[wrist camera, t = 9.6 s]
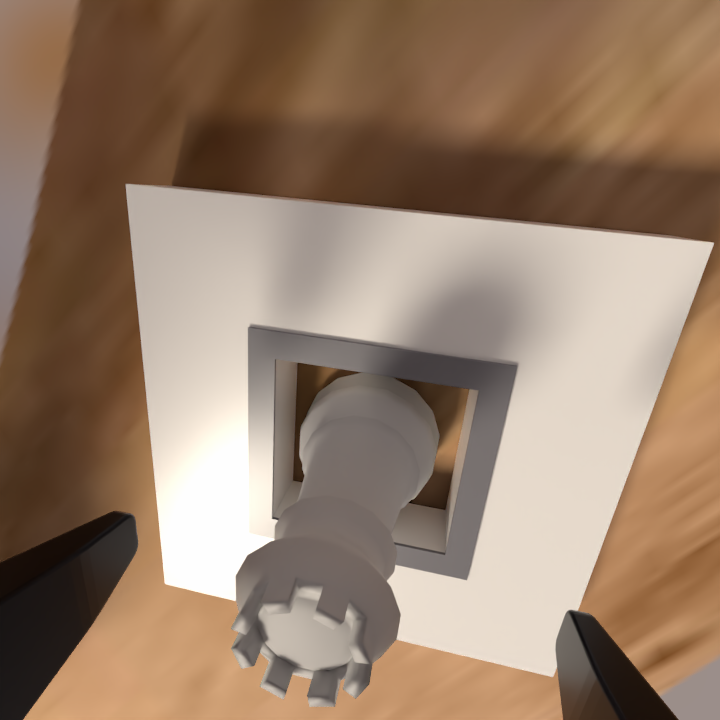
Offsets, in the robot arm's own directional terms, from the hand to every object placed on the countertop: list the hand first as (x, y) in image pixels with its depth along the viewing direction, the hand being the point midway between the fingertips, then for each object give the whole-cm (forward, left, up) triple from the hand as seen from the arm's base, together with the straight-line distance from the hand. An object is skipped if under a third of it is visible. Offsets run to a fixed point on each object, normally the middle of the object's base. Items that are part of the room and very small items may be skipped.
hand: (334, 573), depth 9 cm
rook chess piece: (0, 0, -6) cm, 7 cm away
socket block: (0, 0, -6) cm, 6 cm away
